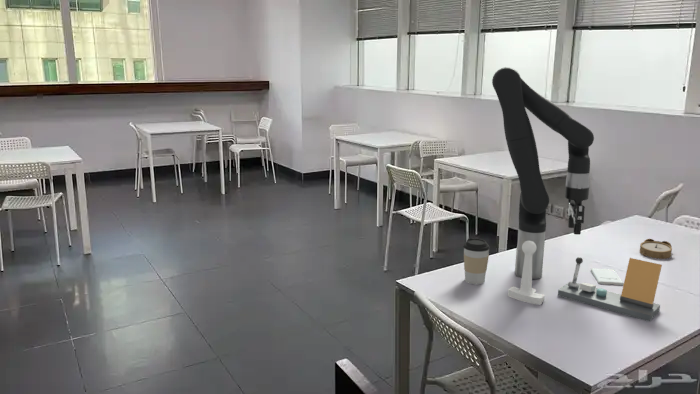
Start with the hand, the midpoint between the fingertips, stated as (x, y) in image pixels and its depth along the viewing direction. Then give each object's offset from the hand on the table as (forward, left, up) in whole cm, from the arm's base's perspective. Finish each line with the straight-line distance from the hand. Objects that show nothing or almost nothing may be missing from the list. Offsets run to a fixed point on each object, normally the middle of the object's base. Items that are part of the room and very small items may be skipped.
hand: (574, 230), depth 193 cm
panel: (+9, -19, -18) cm, 27 cm away
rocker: (+3, -16, -15) cm, 22 cm away
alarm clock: (+38, +37, -18) cm, 56 cm away
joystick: (-16, -20, -18) cm, 31 cm away
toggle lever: (-1, -13, -15) cm, 20 cm away
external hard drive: (+13, +4, -19) cm, 23 cm away
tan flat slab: (+16, -23, -15) cm, 32 cm away
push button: (+7, -18, -16) cm, 25 cm away
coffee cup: (-33, -9, -18) cm, 39 cm away
